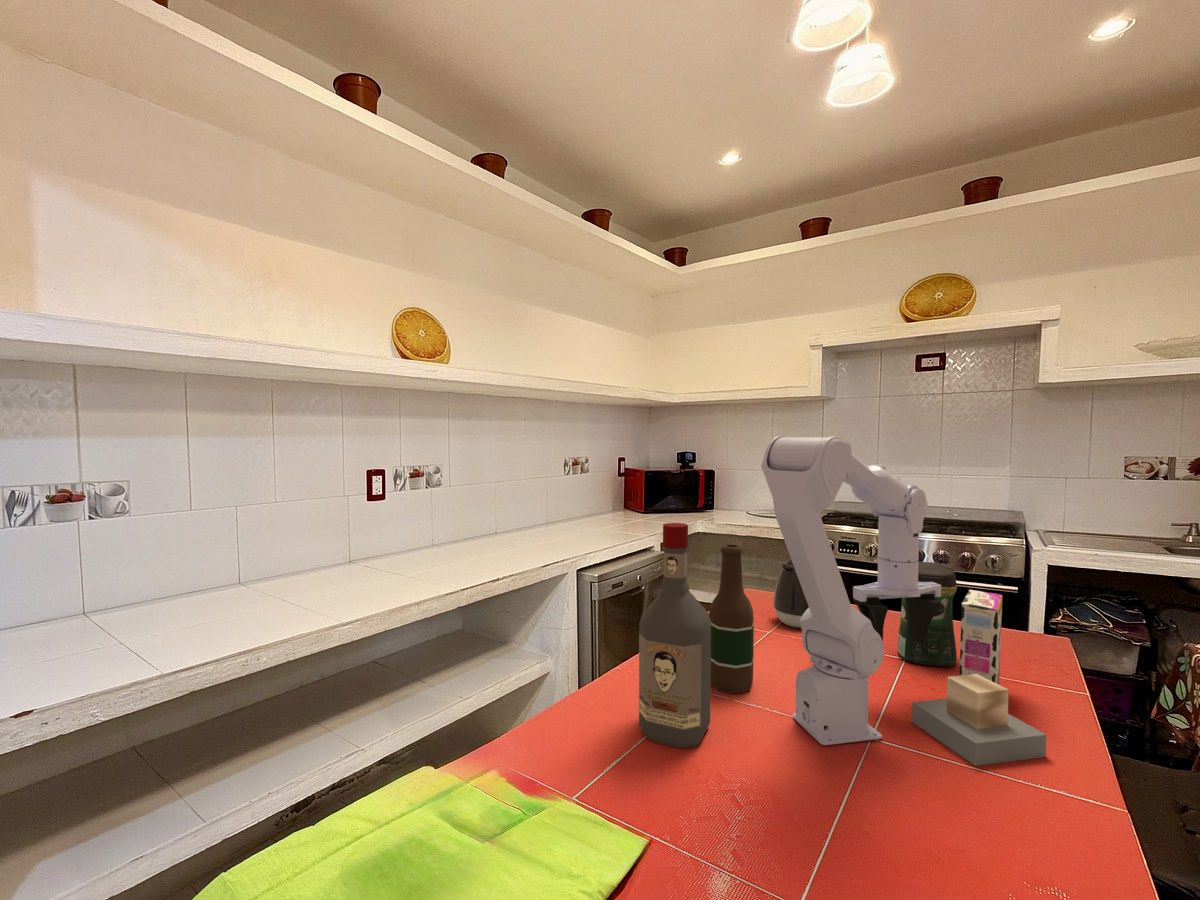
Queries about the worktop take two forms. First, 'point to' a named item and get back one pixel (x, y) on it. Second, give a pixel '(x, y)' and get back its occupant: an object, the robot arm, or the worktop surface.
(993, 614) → the candy bar box
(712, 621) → the beer bottle
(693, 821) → the worktop surface
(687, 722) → the liquor
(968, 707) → the birch cube
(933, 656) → the coffee jar
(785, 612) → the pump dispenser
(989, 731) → the slate pedestal
